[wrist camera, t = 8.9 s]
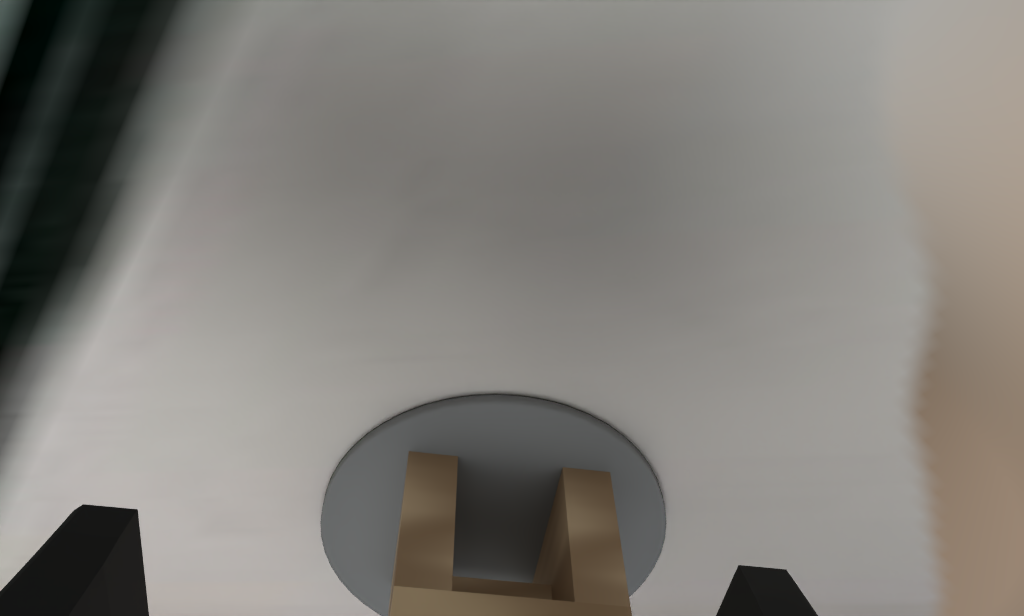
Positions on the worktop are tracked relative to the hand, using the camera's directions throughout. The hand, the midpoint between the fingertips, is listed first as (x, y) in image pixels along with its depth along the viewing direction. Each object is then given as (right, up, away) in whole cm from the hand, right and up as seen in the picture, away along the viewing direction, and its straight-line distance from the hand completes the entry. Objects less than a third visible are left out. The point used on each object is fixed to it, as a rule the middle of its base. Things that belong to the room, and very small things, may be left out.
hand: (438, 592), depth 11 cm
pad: (0, -2, +13) cm, 13 cm away
